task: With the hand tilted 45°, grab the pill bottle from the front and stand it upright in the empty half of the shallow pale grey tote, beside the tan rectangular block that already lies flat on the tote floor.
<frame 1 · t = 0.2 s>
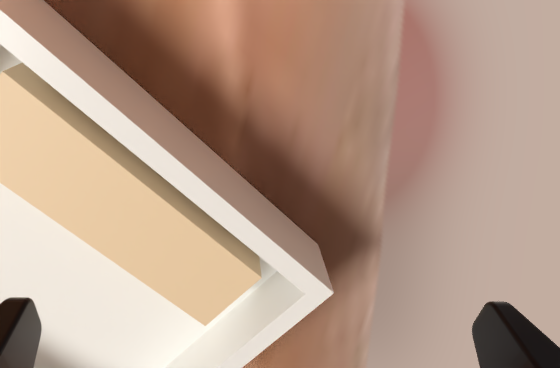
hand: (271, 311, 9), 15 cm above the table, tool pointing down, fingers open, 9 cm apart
tan rectangular block: (131, 188, 23), point 1 cm above the table, touching tote
tote: (74, 241, 25), on the table
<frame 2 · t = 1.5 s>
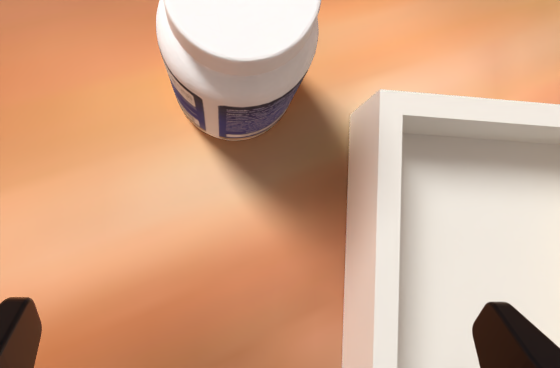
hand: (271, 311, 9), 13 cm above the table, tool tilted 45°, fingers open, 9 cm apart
pill bottle: (233, 86, 23), on the table
tote: (513, 317, 24), on the table
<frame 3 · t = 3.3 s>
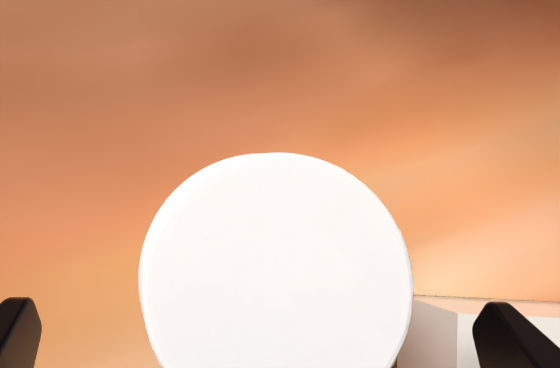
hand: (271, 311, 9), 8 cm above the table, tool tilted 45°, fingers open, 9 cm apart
pill bottle: (246, 259, 18), on the table
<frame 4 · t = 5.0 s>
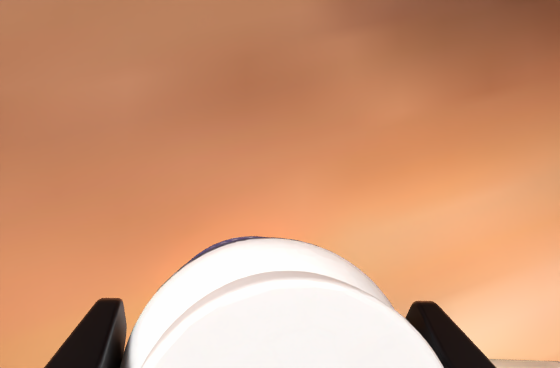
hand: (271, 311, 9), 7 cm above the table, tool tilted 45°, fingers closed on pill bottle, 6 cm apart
pill bottle: (248, 319, 16), on the table, touching gripper
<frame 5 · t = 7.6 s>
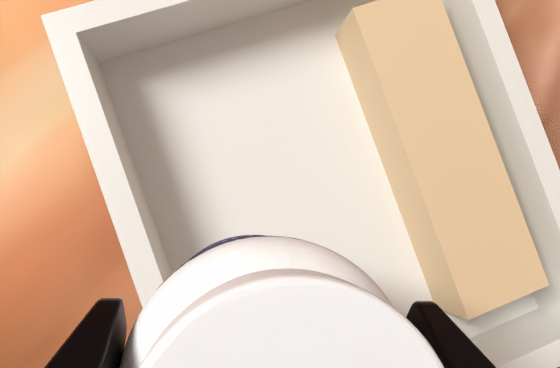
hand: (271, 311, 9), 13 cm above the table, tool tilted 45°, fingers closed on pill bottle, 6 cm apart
pill bottle: (248, 317, 16), point 6 cm above the table, touching gripper
tan rectangular block: (421, 156, 23), point 1 cm above the table, touching tote
tote: (323, 192, 23), on the table
when the fingers open (9 cm above the table, at t = 10.3 s): pill bottle drops 1 cm, resting on tote.
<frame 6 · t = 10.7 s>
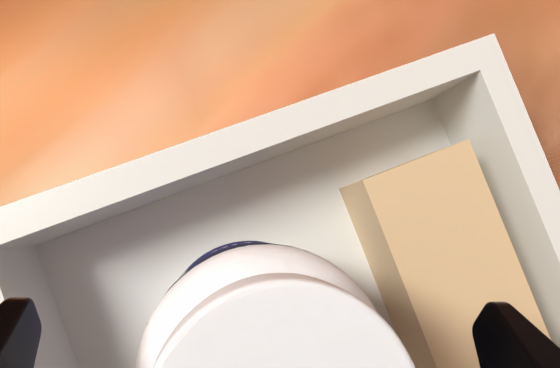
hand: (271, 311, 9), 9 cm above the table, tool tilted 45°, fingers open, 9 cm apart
pill bottle: (245, 316, 17), point 1 cm above the table, touching tote
tan rectangular block: (451, 339, 18), point 1 cm above the table, touching tote
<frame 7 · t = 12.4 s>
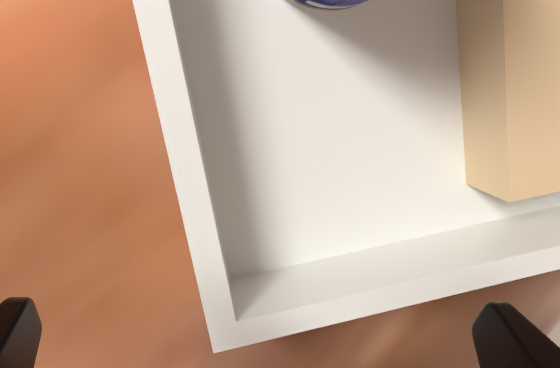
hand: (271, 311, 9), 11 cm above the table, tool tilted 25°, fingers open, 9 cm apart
tan rectangular block: (502, 11, 19), point 1 cm above the table, touching tote
tote: (377, 32, 19), on the table
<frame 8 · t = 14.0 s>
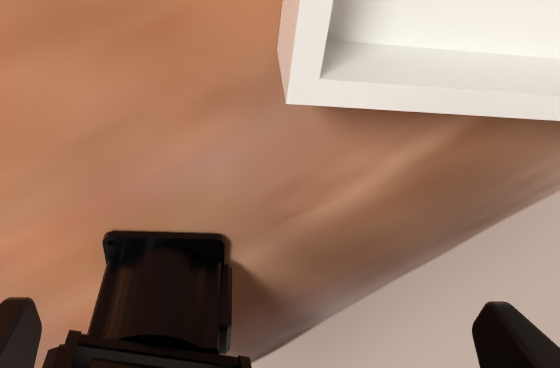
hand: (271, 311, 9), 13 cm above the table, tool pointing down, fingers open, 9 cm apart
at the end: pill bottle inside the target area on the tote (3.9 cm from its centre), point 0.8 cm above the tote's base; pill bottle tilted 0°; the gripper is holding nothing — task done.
